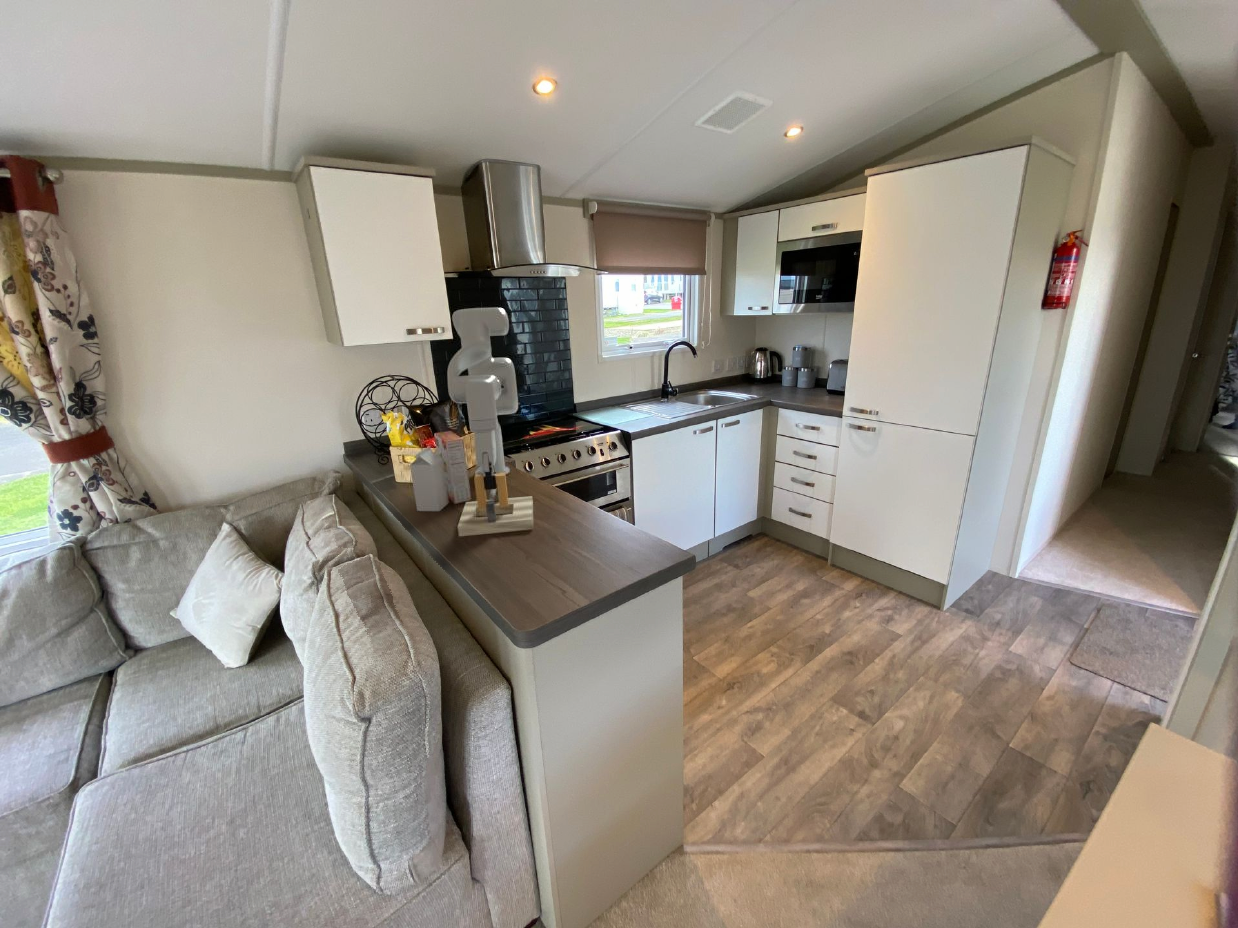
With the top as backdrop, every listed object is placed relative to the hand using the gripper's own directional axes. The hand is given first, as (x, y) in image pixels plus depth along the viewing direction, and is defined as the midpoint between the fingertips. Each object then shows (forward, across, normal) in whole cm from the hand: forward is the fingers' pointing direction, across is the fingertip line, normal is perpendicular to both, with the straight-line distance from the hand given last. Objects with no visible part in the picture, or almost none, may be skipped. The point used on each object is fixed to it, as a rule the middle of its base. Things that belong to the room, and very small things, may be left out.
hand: (491, 486), depth 141 cm
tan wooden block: (+6, 0, 0) cm, 6 cm away
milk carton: (+11, -15, -20) cm, 27 cm away
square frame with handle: (+10, 0, 0) cm, 10 cm away
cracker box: (+10, -23, -14) cm, 29 cm away
